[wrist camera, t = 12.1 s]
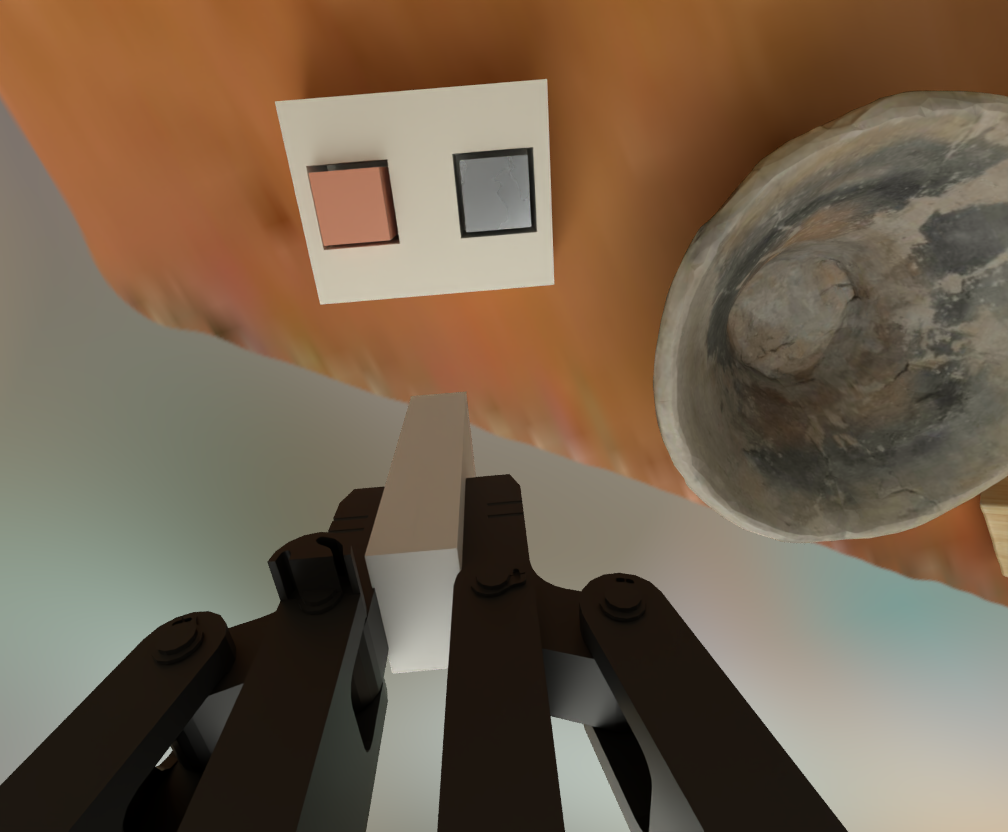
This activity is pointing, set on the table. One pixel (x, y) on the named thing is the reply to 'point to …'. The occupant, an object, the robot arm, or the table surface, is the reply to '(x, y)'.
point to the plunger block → (424, 187)
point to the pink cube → (354, 205)
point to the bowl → (848, 326)
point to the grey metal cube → (496, 193)
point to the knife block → (997, 519)
